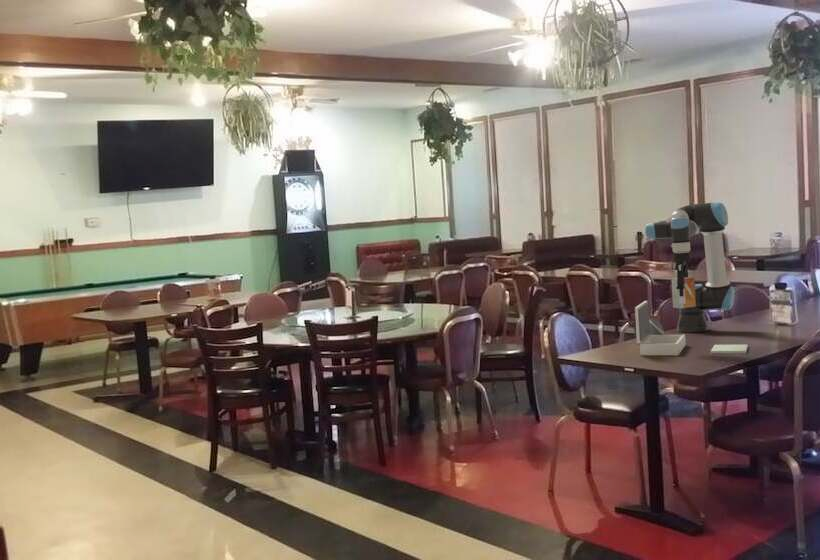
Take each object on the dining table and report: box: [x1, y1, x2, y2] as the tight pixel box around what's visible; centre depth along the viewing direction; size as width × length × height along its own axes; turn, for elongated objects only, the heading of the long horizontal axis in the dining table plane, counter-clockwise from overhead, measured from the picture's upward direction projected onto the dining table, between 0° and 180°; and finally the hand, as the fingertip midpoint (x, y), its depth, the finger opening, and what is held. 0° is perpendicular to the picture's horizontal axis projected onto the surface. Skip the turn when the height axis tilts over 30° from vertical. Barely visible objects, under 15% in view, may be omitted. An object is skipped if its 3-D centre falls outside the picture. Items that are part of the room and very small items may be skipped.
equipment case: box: [634, 300, 686, 356], centre depth 373 cm, size 26×17×21 cm, turn 154°
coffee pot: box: [649, 308, 667, 335], centre depth 396 cm, size 21×12×15 cm, turn 147°
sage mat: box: [710, 344, 749, 354], centre depth 361 cm, size 16×14×1 cm
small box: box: [671, 276, 696, 309], centre depth 367 cm, size 8×6×13 cm
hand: (684, 302), depth 367 cm, fingers closed on small box, 10 cm apart
